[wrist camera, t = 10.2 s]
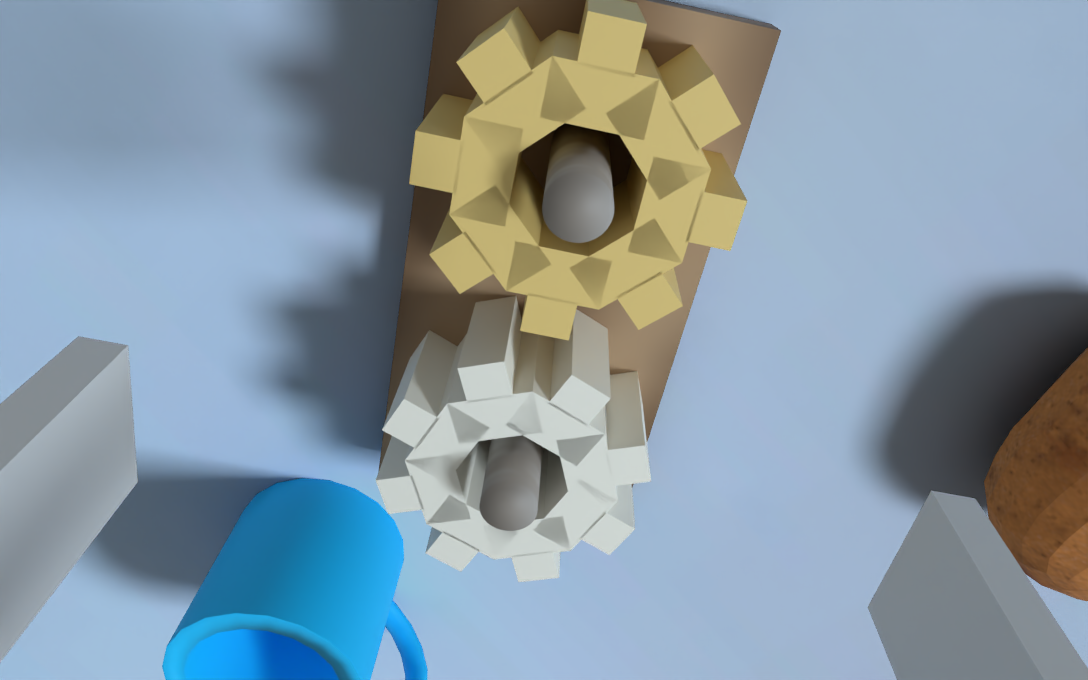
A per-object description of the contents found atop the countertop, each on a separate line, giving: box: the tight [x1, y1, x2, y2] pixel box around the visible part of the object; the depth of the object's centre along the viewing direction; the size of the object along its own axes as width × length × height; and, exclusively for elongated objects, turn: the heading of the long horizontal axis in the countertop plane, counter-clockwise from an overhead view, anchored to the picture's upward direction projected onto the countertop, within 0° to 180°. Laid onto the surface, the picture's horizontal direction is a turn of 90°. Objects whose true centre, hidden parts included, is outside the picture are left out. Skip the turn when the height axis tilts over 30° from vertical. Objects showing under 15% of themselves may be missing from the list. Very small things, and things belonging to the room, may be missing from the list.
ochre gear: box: [409, 0, 747, 341], centre depth 26 cm, size 10×10×5 cm
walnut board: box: [379, 0, 781, 531], centre depth 28 cm, size 11×21×8 cm, turn 169°
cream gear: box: [376, 296, 651, 582], centre depth 31 cm, size 10×10×5 cm
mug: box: [162, 478, 428, 680], centre depth 37 cm, size 12×8×8 cm
